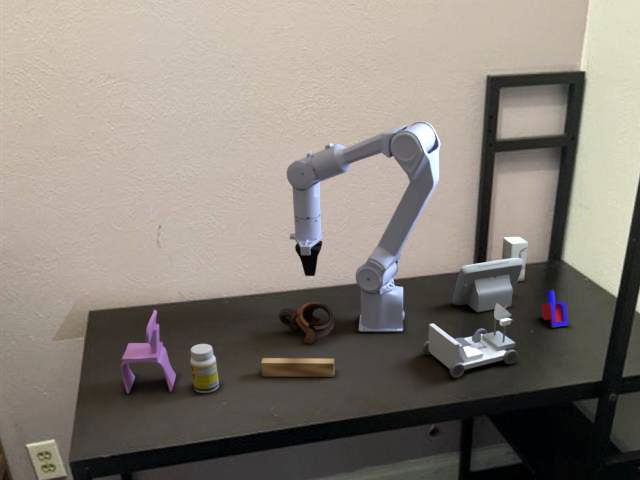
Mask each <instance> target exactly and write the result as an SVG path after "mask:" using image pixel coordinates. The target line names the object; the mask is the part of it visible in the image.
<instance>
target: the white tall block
mask: <svg viewBox="0 0 640 480" xmlns="http://www.w3.org/2000/svg"><path fill="white" fill-rule="evenodd" d="M502 240H503V241H502V250H501V251H502V252H501V260H503V259H510V258H521V259H522V260H523V267H522V270H521V273H520V276H519V279H518V281H517V283H518V282H525V274H526V263H527V253H528V244H529V243H528V241H527V240H526V239H524V238H522V237H521V236H519V235H518V236H508V237H503V238H502Z"/></svg>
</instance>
